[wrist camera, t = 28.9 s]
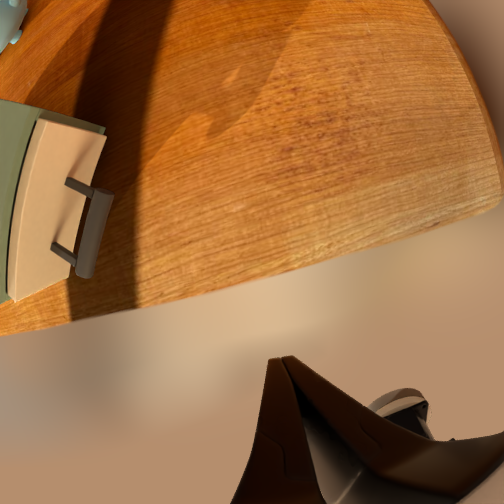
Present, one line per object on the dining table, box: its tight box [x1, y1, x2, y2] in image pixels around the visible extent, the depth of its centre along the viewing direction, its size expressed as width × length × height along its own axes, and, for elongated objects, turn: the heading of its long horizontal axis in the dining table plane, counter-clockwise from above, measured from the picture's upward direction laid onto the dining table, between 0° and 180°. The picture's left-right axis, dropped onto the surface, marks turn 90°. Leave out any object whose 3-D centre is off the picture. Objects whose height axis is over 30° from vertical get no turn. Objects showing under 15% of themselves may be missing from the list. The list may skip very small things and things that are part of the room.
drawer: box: [6, 118, 115, 302], centre depth 15 cm, size 18×12×7 cm
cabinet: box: [0, 99, 106, 304], centre depth 15 cm, size 15×14×9 cm
